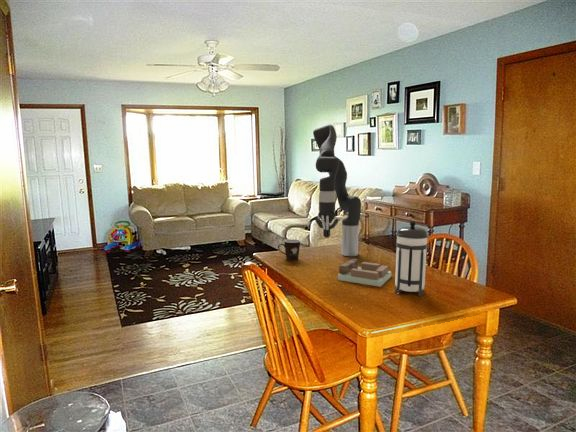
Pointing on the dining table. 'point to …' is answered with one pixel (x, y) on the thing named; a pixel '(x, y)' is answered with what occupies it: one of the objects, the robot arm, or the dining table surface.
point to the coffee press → (411, 259)
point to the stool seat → (367, 274)
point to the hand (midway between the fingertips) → (326, 237)
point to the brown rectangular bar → (348, 266)
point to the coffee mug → (291, 249)
